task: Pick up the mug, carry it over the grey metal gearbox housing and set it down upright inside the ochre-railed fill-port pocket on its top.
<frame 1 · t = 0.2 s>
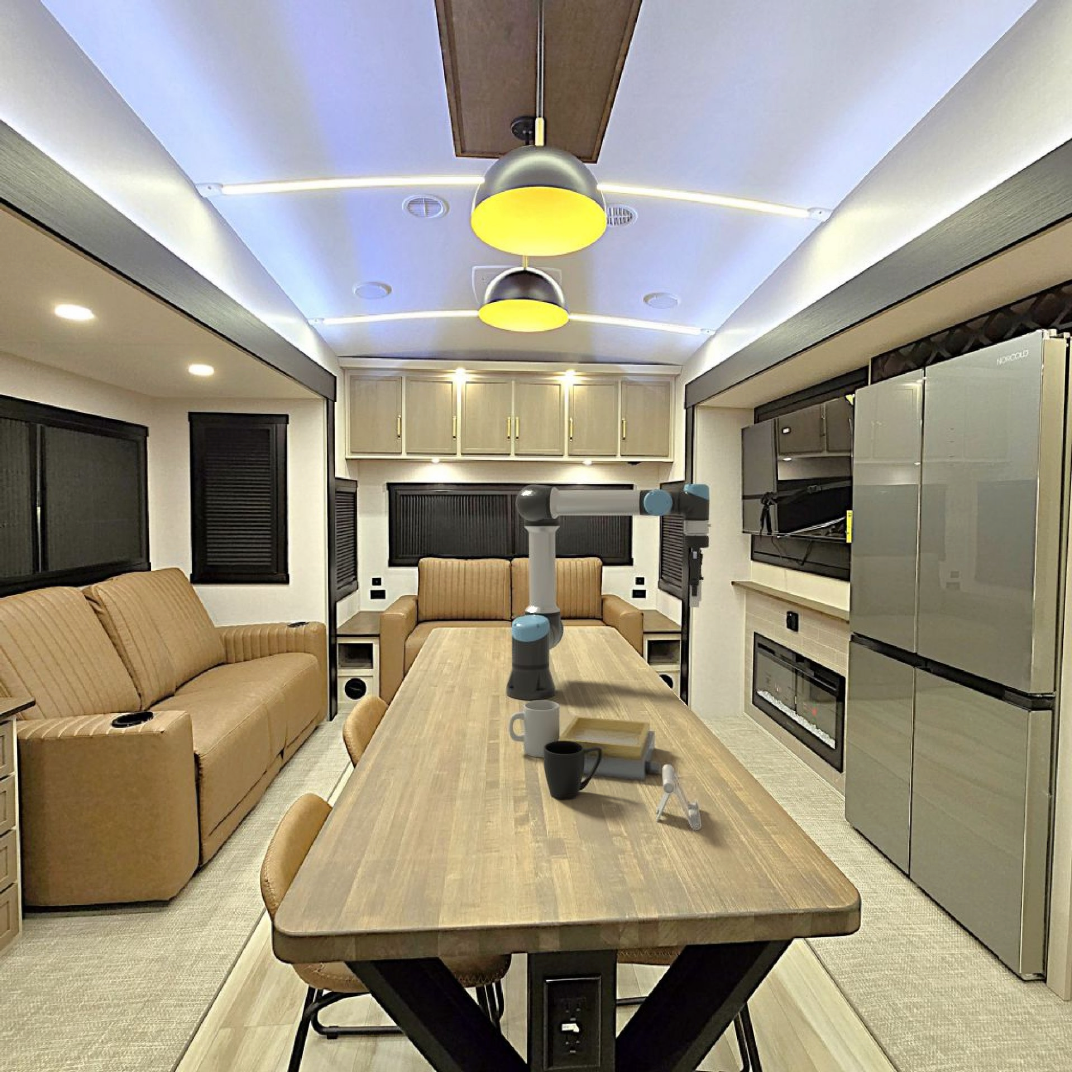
hand: (695, 604, 204), 28 cm above the table, fingers open, 13 cm apart
portable electronic device stand: (677, 819, 123), on the table
mug: (534, 752, 157), on the table
mug 2: (573, 794, 134), on the table
gearbox: (605, 758, 152), on the table
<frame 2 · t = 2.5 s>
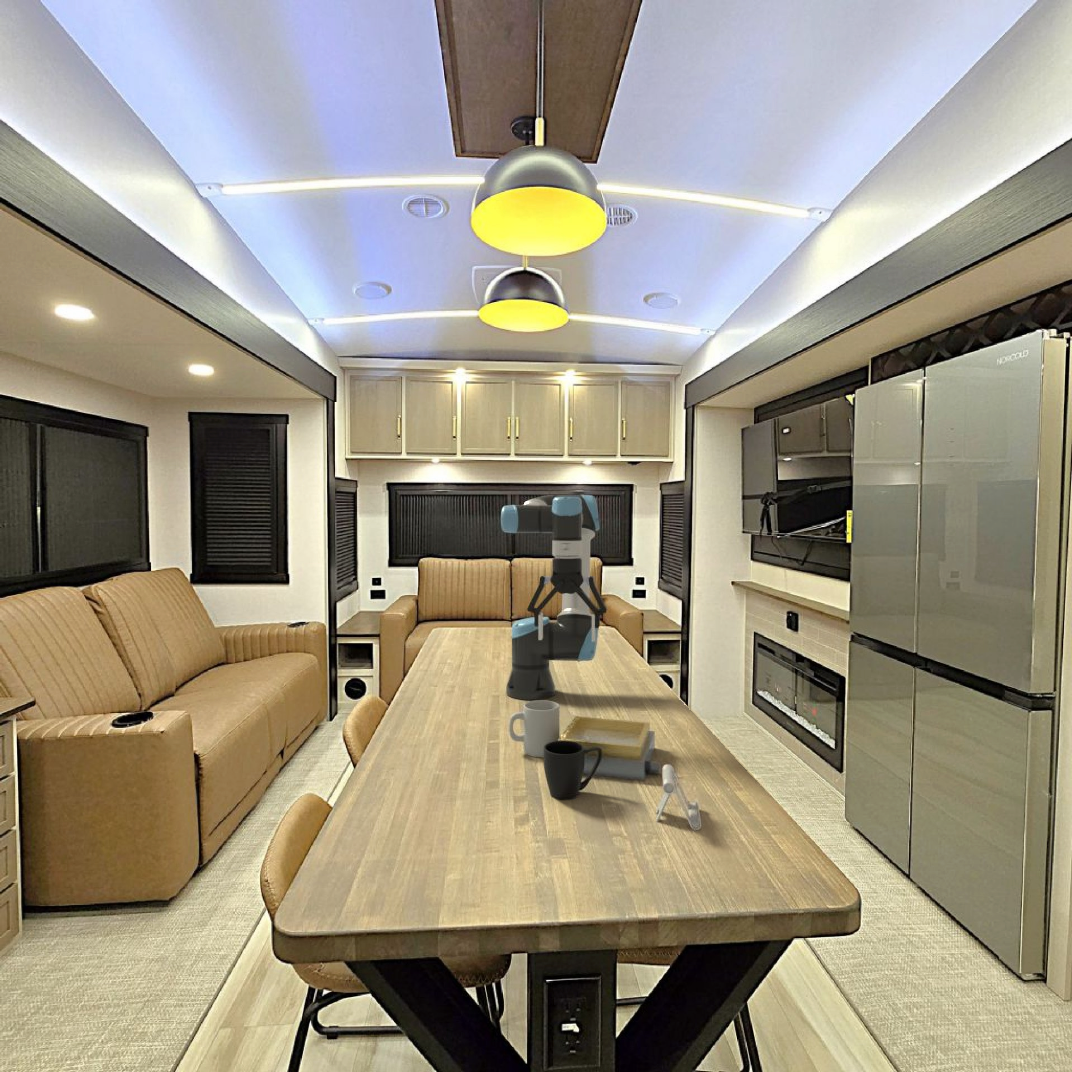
hand: (566, 640, 170), 24 cm above the table, fingers open, 13 cm apart
nothing on the table moved.
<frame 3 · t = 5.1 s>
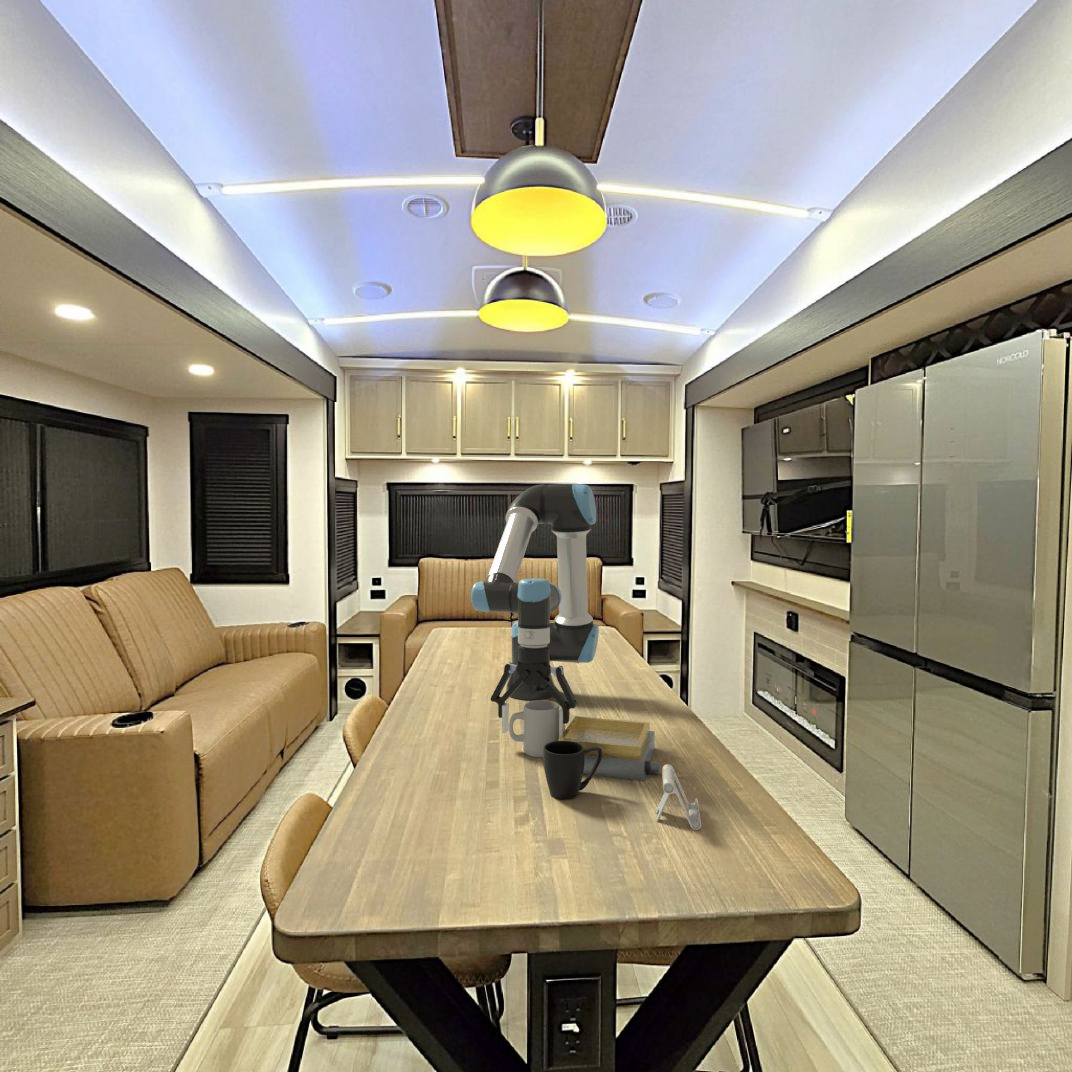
hand: (533, 734, 156), 4 cm above the table, fingers open, 13 cm apart
nothing on the table moved.
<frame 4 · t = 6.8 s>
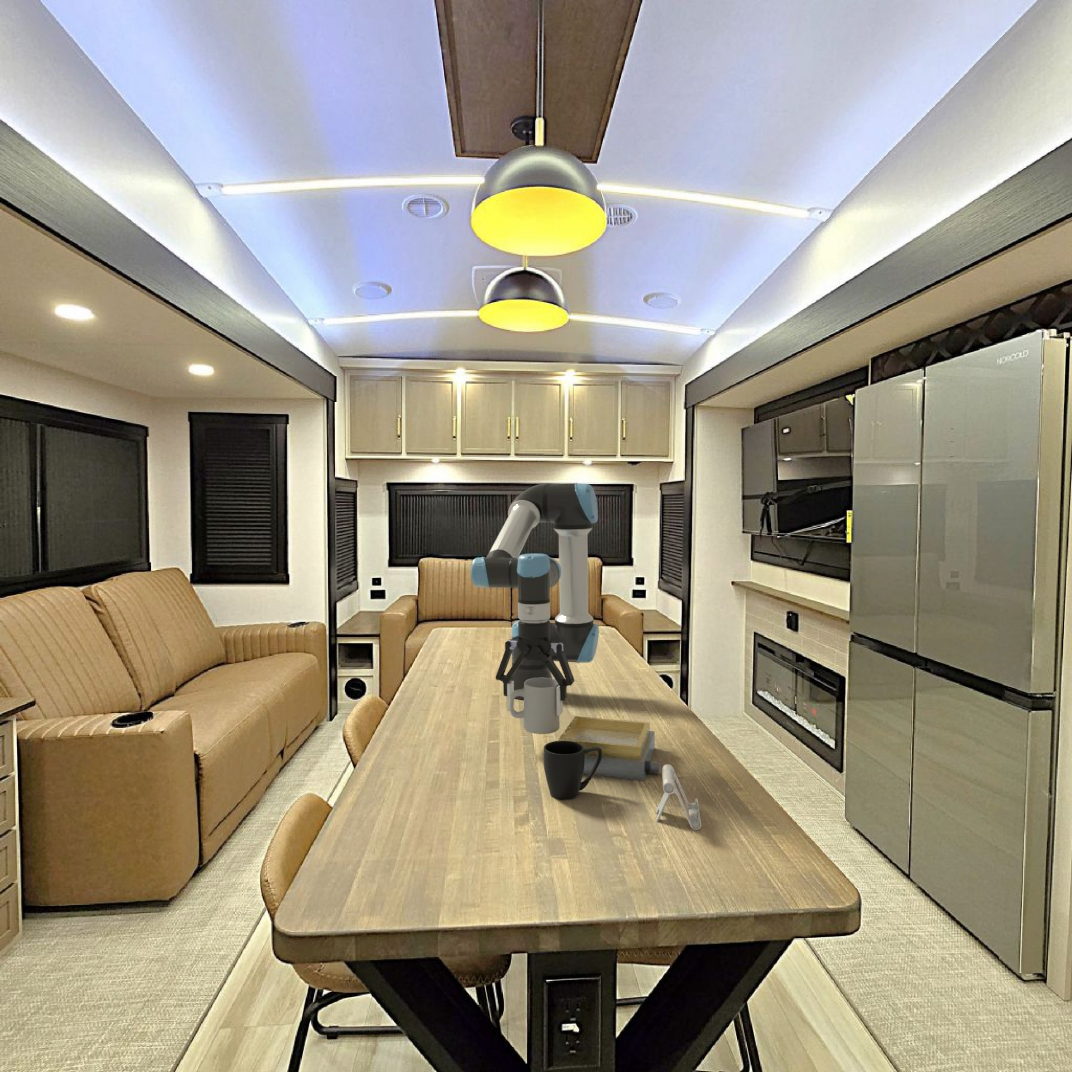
hand: (534, 711, 157), 9 cm above the table, fingers closed on mug, 11 cm apart
mug: (534, 728, 158), point 5 cm above the table, touching gripper
everything else where it was.
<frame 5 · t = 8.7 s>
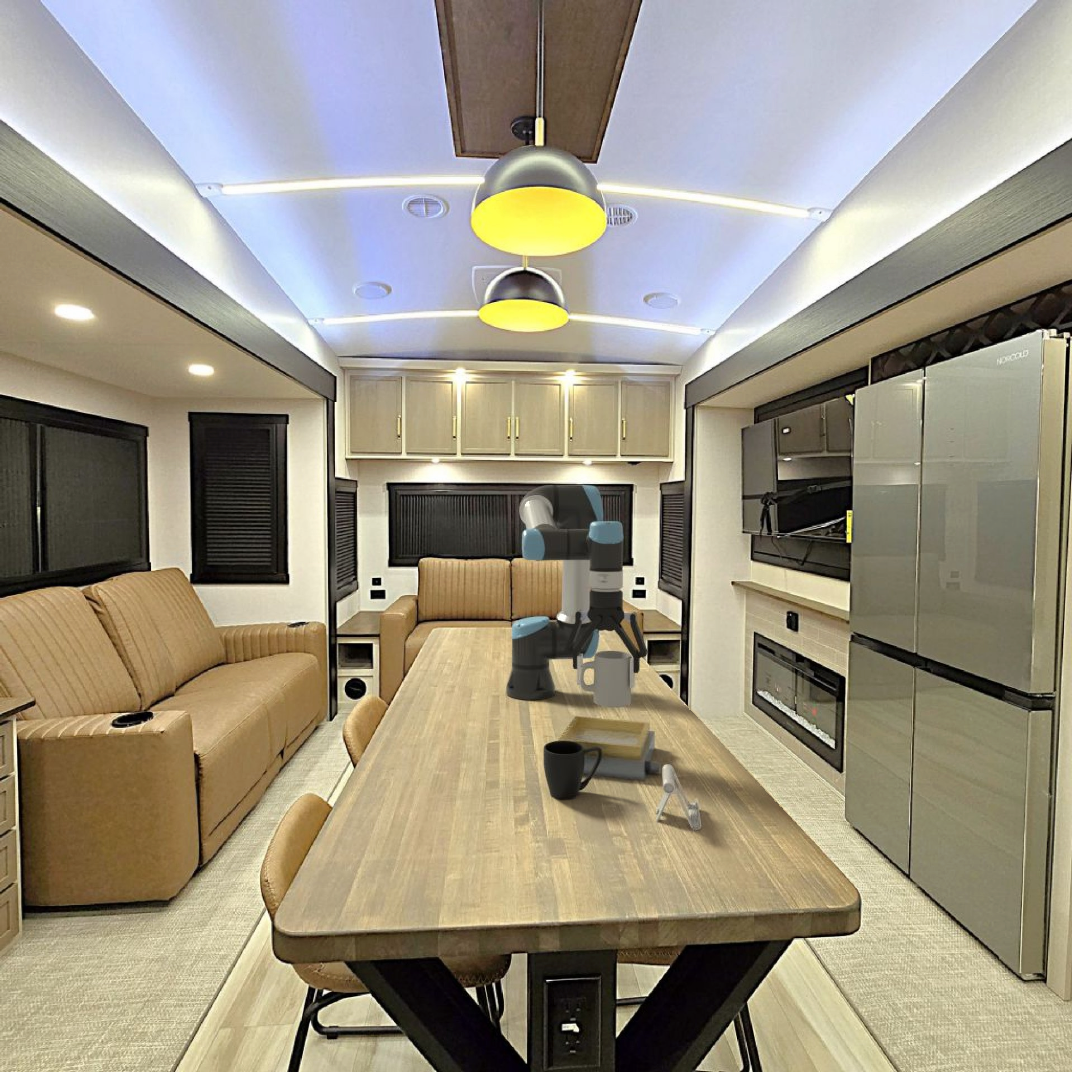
hand: (605, 685, 151), 17 cm above the table, fingers closed on mug, 11 cm apart
mug: (604, 703, 152), point 13 cm above the table, touching gripper
everything else where it was.
when the fingers open (8 cm above the table, at t = 10.9 s): mug stays where it is, resting on gearbox.
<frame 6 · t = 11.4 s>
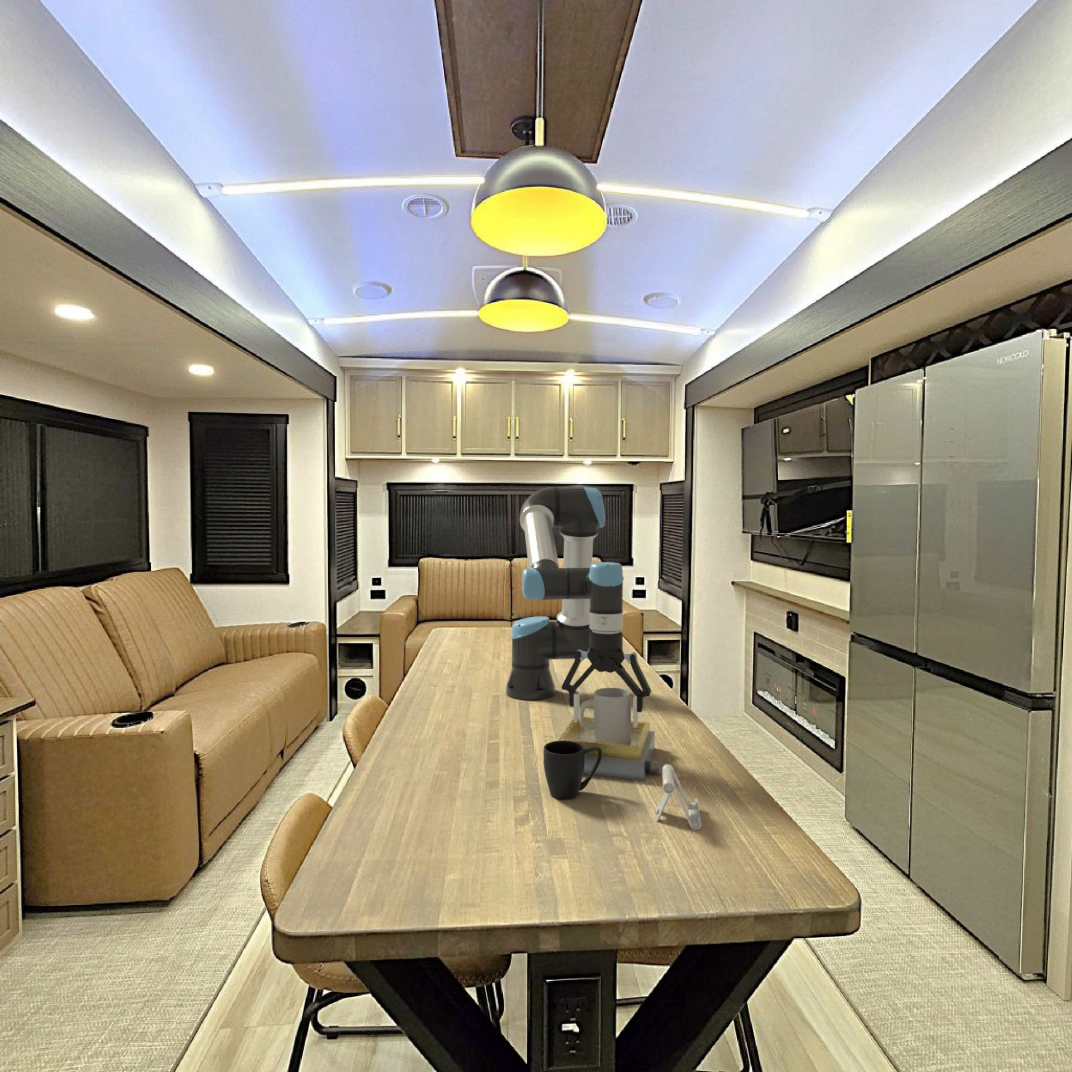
hand: (605, 723, 152), 8 cm above the table, fingers open, 13 cm apart
mug: (604, 741, 152), point 4 cm above the table, touching gearbox
everything else where it was.
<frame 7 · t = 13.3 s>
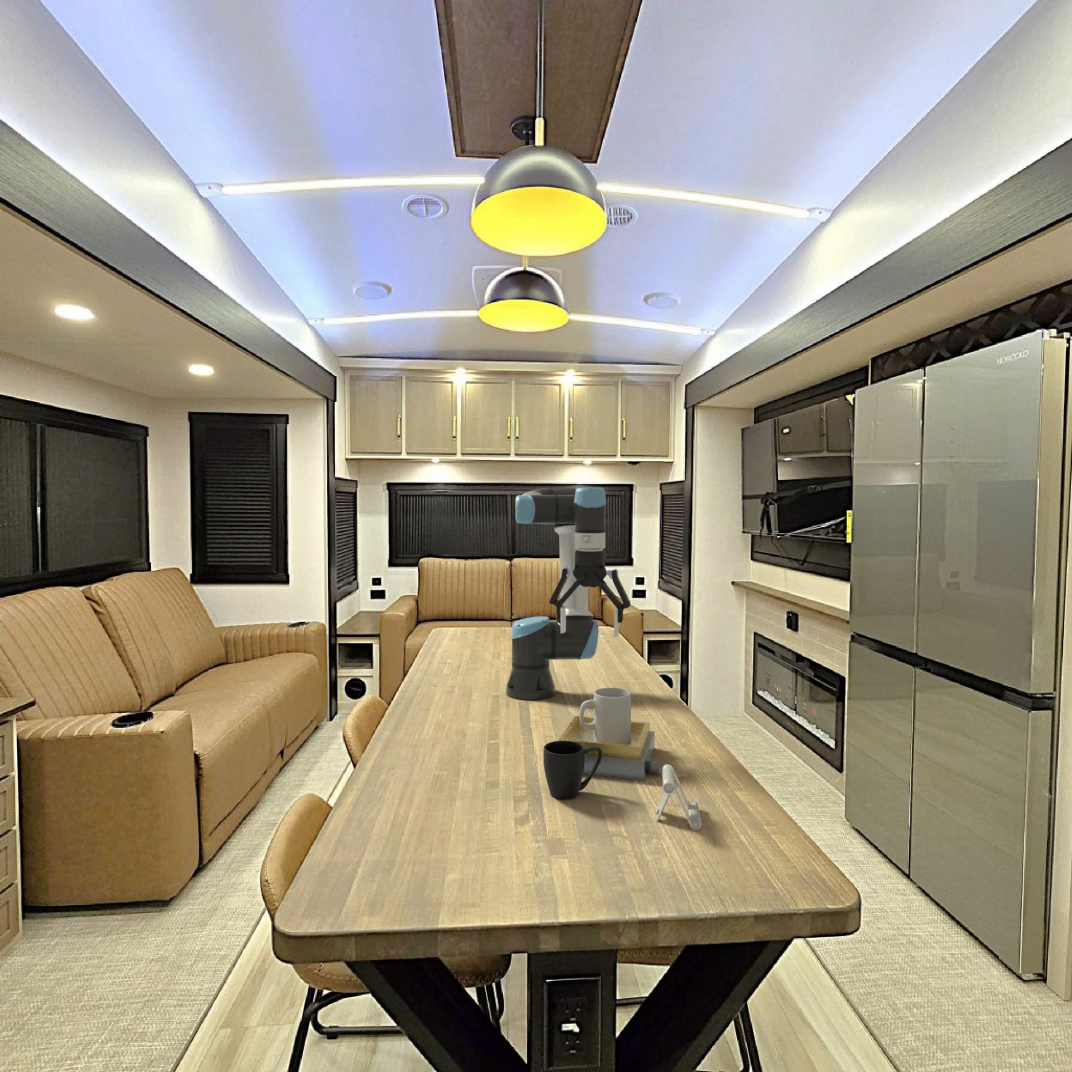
hand: (589, 633, 167), 26 cm above the table, fingers open, 13 cm apart
nothing on the table moved.
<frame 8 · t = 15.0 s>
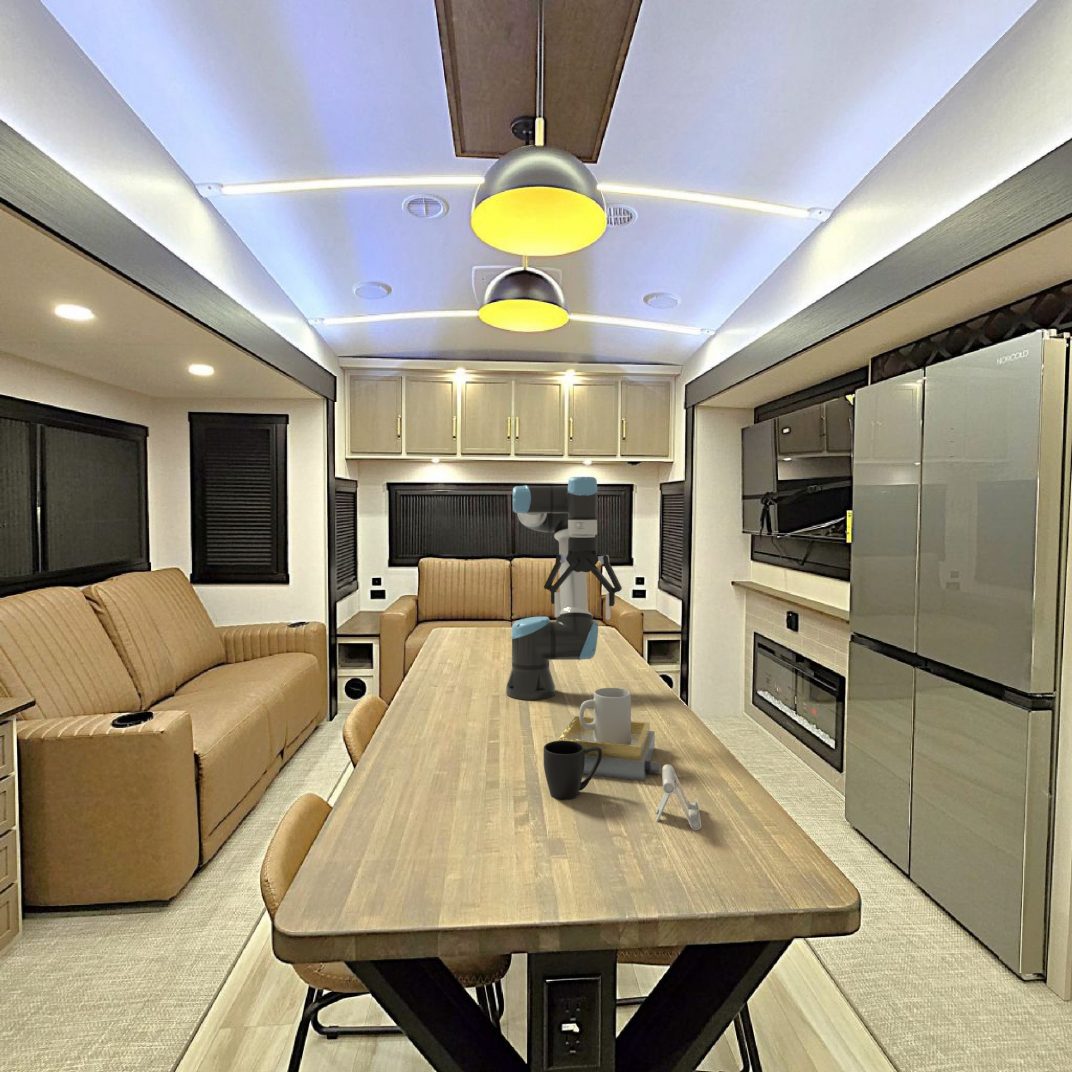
hand: (582, 617, 174), 29 cm above the table, fingers open, 13 cm apart
nothing on the table moved.
at the end: mug inside the target area on the gearbox (0.3 cm from its centre), point 4.0 cm above the gearbox's base; mug tilted 0°; the gripper is holding nothing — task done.
